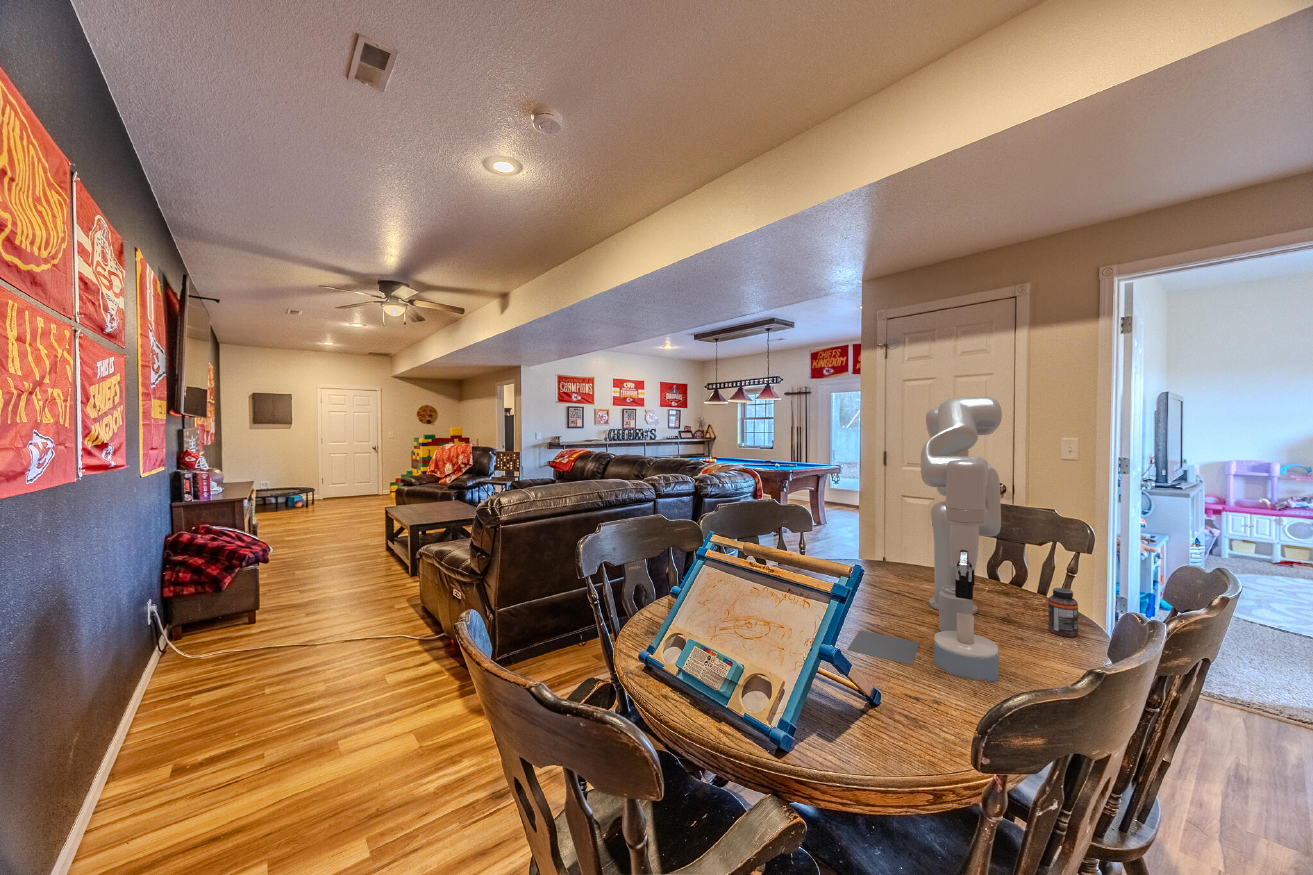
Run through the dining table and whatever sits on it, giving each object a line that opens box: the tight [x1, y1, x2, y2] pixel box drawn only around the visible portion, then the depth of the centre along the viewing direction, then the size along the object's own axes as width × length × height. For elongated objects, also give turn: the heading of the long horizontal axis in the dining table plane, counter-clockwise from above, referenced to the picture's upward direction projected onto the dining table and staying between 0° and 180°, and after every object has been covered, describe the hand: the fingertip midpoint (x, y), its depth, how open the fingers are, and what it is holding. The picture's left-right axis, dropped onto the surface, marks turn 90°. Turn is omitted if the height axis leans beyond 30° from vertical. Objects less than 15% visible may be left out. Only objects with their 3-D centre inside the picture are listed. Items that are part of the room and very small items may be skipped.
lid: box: [934, 612, 999, 658], centre depth 110 cm, size 12×12×7 cm
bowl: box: [933, 640, 1000, 683], centre depth 110 cm, size 12×12×5 cm
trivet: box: [846, 629, 921, 666], centre depth 120 cm, size 14×14×1 cm
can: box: [938, 586, 974, 632], centre depth 128 cm, size 8×8×12 cm
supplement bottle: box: [1047, 587, 1079, 638], centre depth 128 cm, size 6×6×11 cm
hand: (965, 591), depth 110 cm, fingers open, 9 cm apart
